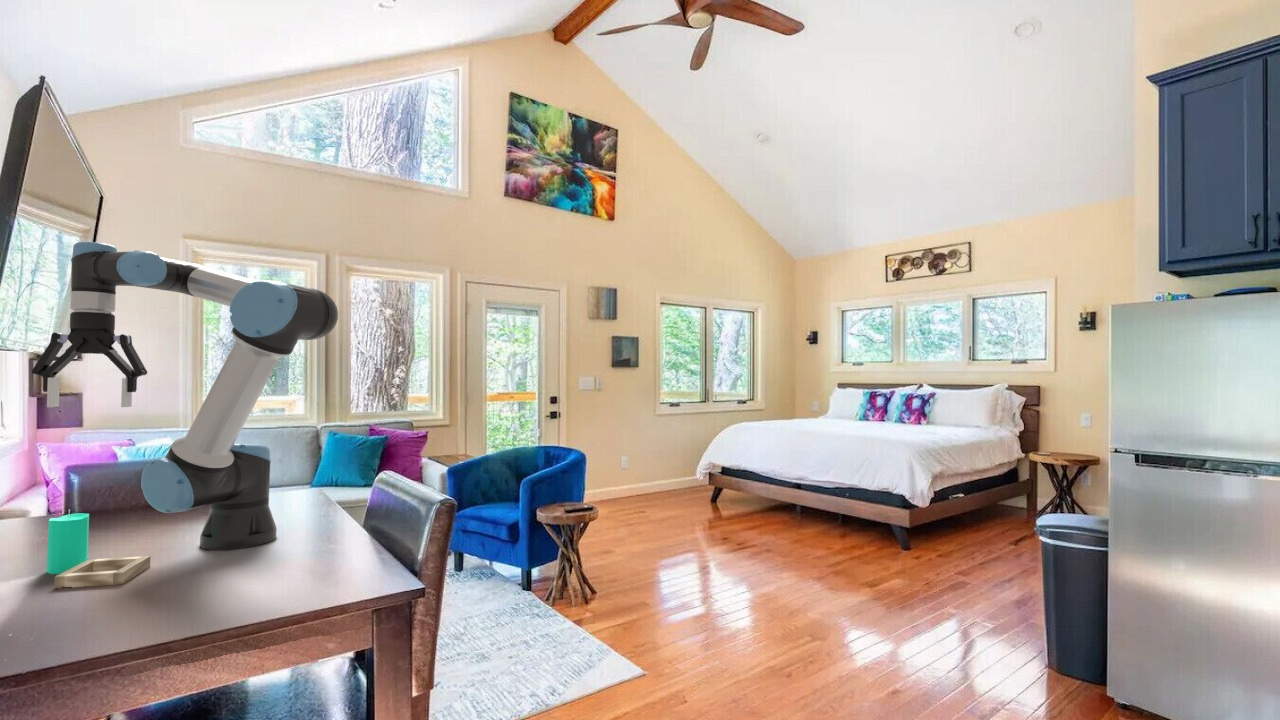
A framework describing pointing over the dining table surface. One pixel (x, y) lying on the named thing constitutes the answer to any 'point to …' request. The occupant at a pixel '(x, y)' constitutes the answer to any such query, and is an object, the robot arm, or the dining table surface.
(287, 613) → the dining table surface
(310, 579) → the dining table surface
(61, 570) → the candle
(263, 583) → the dining table surface
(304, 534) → the dining table surface
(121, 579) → the holder collar
